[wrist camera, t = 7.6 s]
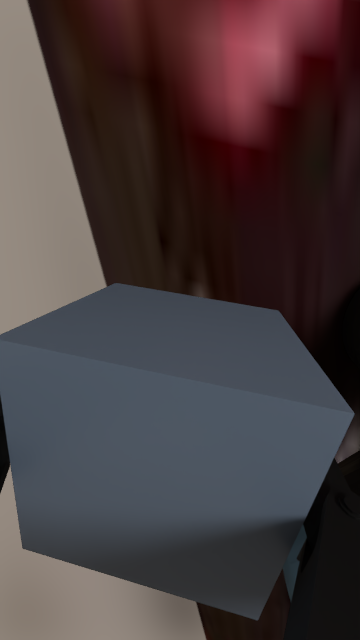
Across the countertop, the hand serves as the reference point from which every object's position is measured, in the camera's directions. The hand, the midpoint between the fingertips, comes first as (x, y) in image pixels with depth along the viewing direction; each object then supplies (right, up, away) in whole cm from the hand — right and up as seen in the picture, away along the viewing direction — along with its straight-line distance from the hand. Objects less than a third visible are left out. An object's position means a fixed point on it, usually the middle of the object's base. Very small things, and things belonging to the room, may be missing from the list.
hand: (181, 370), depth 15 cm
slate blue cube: (0, 0, 0) cm, 0 cm away
